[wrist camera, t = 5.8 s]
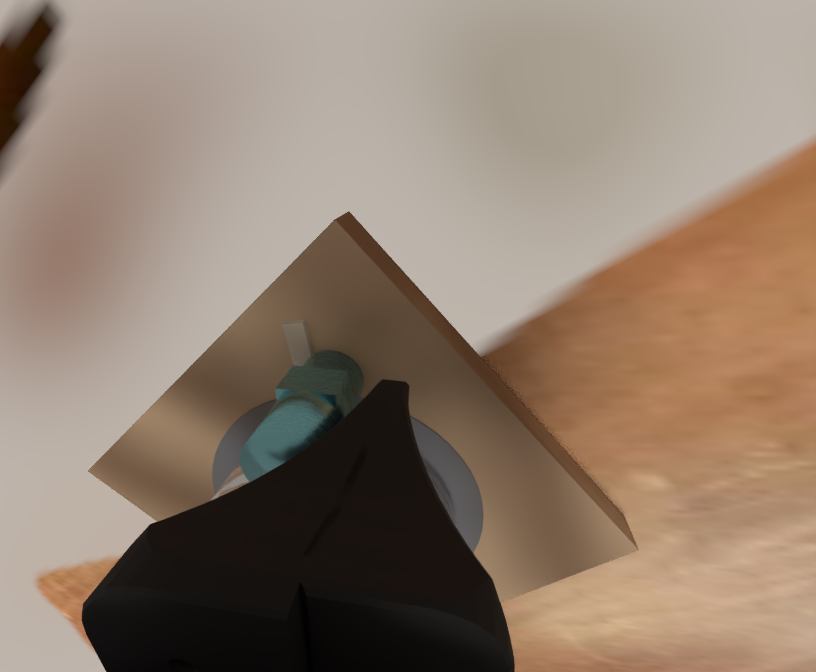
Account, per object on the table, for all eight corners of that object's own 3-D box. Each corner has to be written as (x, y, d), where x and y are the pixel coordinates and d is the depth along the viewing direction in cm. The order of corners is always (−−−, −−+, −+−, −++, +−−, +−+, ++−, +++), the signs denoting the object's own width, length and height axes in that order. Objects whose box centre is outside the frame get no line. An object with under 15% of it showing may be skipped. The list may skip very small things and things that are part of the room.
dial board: (356, 629, 22) (348, 664, 21) (115, 447, 19) (83, 474, 17) (624, 516, 16) (640, 554, 15) (348, 211, 12) (332, 220, 11)
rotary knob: (446, 606, 17) (441, 731, 14) (247, 573, 18) (191, 683, 14) (479, 363, 12) (485, 460, 8) (196, 335, 13) (88, 412, 9)
